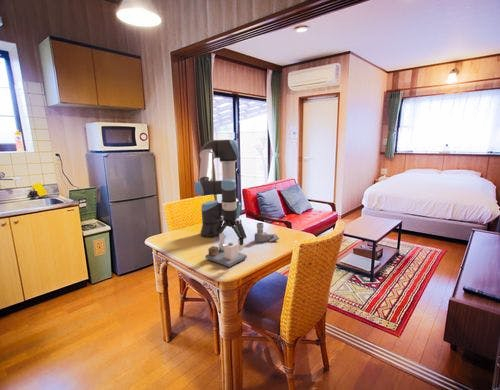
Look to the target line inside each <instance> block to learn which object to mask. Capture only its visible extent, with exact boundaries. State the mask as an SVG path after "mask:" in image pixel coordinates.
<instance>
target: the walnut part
mask: <svg viewBox="0 0 500 390" xmlns="http://www.w3.org/2000/svg"><path fill="white" fill-rule="evenodd" d="M207 252H208V254H209V256H214V257H215V256H217V255H218V254H219V246H215V245H213V246H210V247H208V249H207Z"/></svg>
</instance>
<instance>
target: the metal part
mask: <svg viewBox="0 0 500 390" xmlns="http://www.w3.org/2000/svg"><path fill="white" fill-rule="evenodd" d="M224 245H226V243H224V244H223V245H220V243H219V244H218V247H219V252H224Z"/></svg>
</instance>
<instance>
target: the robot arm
mask: <svg viewBox="0 0 500 390" xmlns="http://www.w3.org/2000/svg"><path fill="white" fill-rule="evenodd" d="M199 151H200V152H199V159H200V162H199V163H200V165H199V166H200V167H199V175H198V177H199V178H198V180H196V181H194V184H193V185H194V186H193V188H194V194H195V196H214V195H216V196H217V195H221V201H220V202H219V201H218V200H209V201H206V202H203V203H202V205H201V210H200V211H201V219H202V220H201V221H202V225H201V229H200V231H199V232H200V237H203V238H207V239H212V238H213V239H214V238H218V239H219V244H220V245H223V244H225V232H224V230H225V229H226V228H227V227H230V228H231V229H232V230H233V231H234V232H235V234H236V236H237V238H238V239H237V244H238V252H241V251H243V250H244V244H245V243H244V239H247V238H248V237H247V234H246V232H245V229H244V226H243V223H242V219H239V218H240V216H241V215H240V214H241V205H242V202H241V201H239V198H237V184H236V183H237V182H236V181H237V180H236V162H237V161H238V158H240V153H239V147H238V142H237V140H236V139H212V140H210V141H207V142H206V143H205V144H204V145H203V146H202V147H201V149H200V150H199ZM215 159H219V162H220V163H221V168H222V180H214V179H213V178H214V176H213V175H214V160H215Z"/></svg>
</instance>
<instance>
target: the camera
mask: <svg viewBox="0 0 500 390" xmlns="http://www.w3.org/2000/svg"><path fill="white" fill-rule="evenodd" d="M277 240H280V237H279V236H278V235H277V234H276V233H267V232H266V231H265V232H264V223H263V222H256V232H254V242H255V243H266V242H269V243H272V242H274V241H277Z"/></svg>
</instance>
